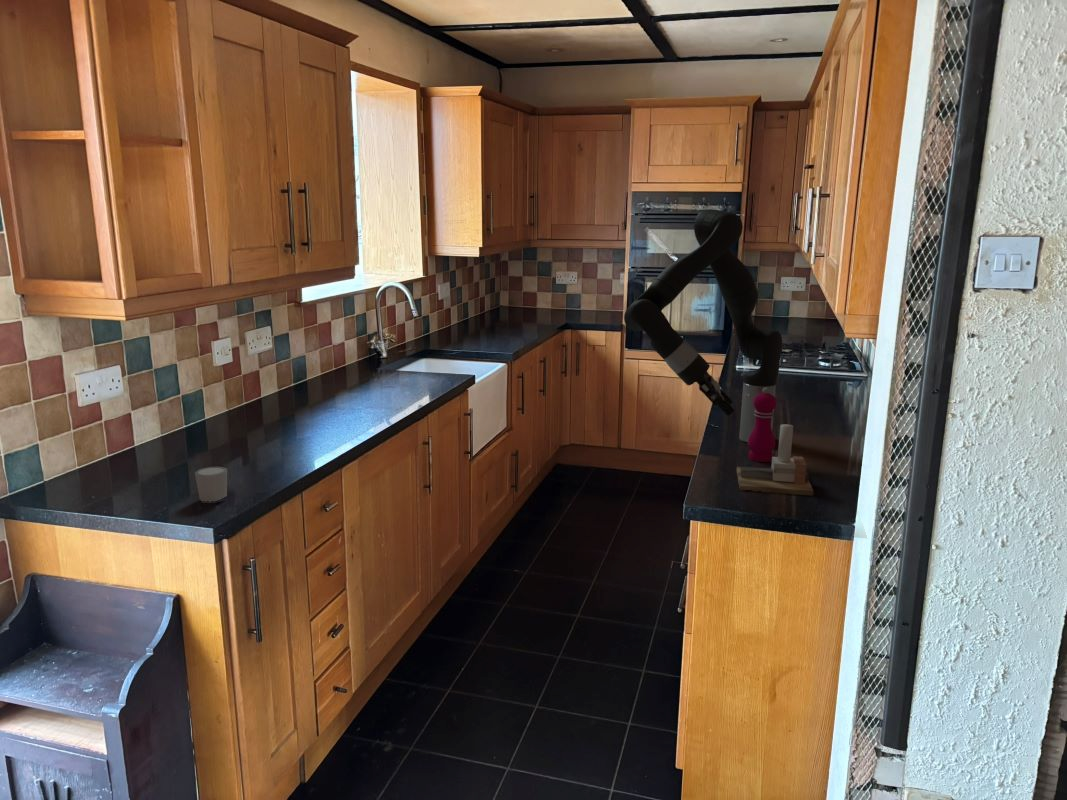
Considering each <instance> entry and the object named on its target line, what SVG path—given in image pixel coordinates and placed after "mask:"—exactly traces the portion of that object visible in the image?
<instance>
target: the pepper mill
mask: <svg viewBox="0 0 1067 800" xmlns="http://www.w3.org/2000/svg"><path fill="white" fill-rule="evenodd" d="M762 391H763V393H760V394H758V395H757V396H756V397H755V398H754V401H753V404H754V407H755V408H756V410H755V414H754V415H755V416H756V422H755V427H754V429H753V431H752V433H751V434H750V437H749V439H748V442H747V445H748V448H749V449H750V450H749V451H748V459H749V460H751V461H752V462H753V461H754V462H756V463H757V462H758V463H759V462H760V463H768V462H769V463H770V462H772V457H773V453H772V451H773V450H774V449H775V448H776V440H775V436H774V433H773V429H772V430H771V419H772V417H773V418H774V414H775V413H774V412H773V409H774V410H775V409H776V407H777V398H776V396H775V397H774V396H773V395H771V394H769V389H768V388H764V389H763V390H762ZM773 413H774V414H773Z"/></svg>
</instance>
